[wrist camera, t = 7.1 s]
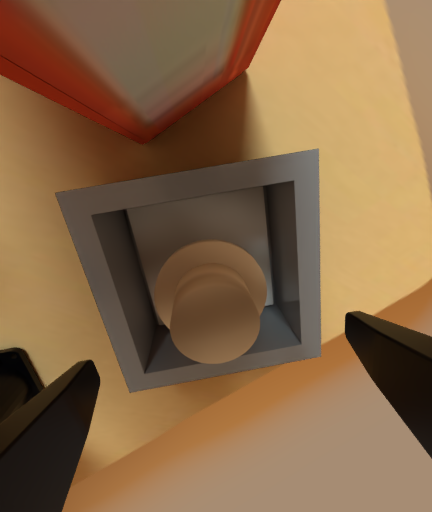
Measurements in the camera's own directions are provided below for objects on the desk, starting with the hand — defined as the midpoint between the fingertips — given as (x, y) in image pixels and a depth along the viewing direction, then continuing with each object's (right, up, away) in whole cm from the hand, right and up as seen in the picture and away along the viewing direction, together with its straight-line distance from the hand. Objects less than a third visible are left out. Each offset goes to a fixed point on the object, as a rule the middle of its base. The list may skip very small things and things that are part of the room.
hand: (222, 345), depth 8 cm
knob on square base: (-1, +3, +9) cm, 9 cm away
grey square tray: (-1, +3, +10) cm, 10 cm away
